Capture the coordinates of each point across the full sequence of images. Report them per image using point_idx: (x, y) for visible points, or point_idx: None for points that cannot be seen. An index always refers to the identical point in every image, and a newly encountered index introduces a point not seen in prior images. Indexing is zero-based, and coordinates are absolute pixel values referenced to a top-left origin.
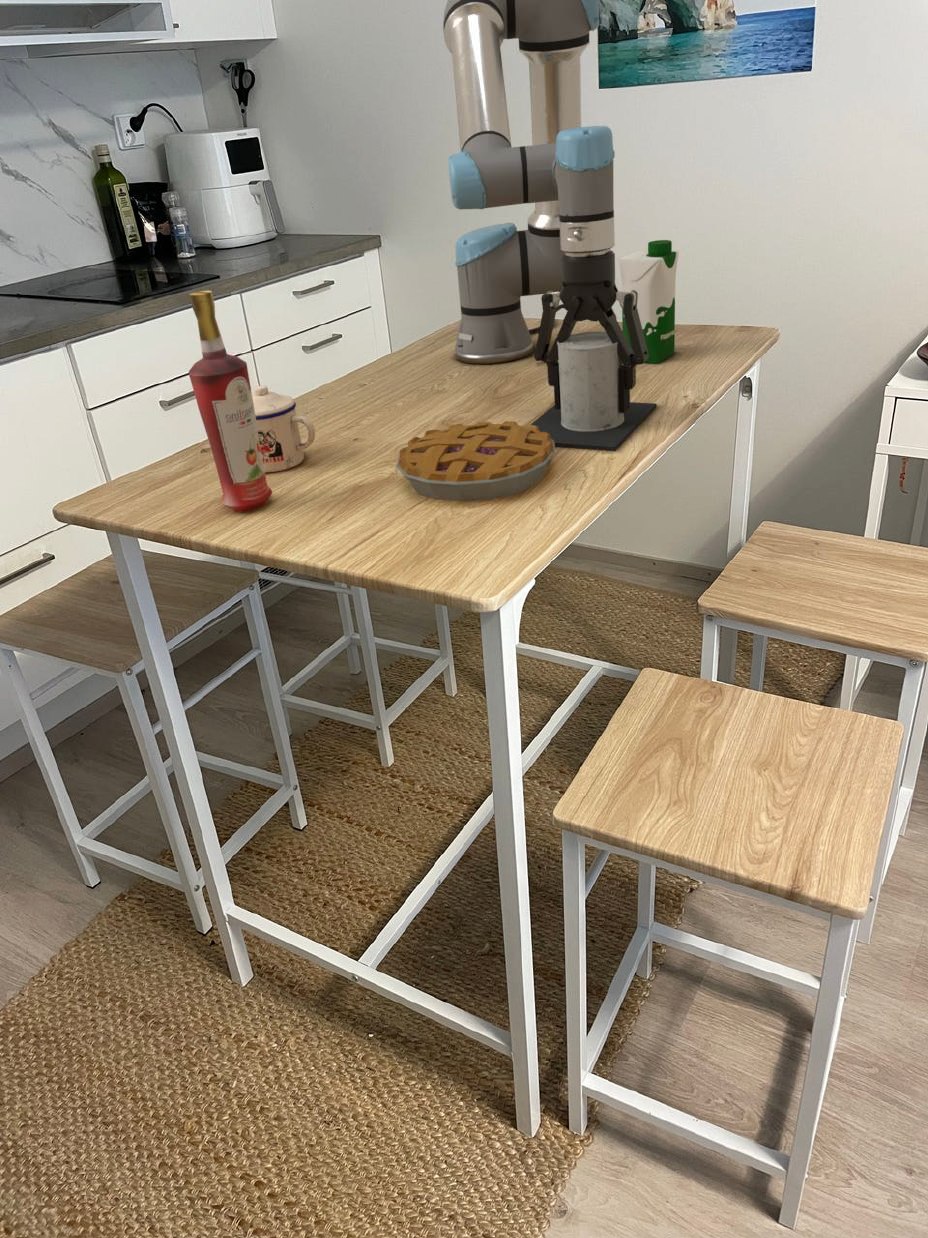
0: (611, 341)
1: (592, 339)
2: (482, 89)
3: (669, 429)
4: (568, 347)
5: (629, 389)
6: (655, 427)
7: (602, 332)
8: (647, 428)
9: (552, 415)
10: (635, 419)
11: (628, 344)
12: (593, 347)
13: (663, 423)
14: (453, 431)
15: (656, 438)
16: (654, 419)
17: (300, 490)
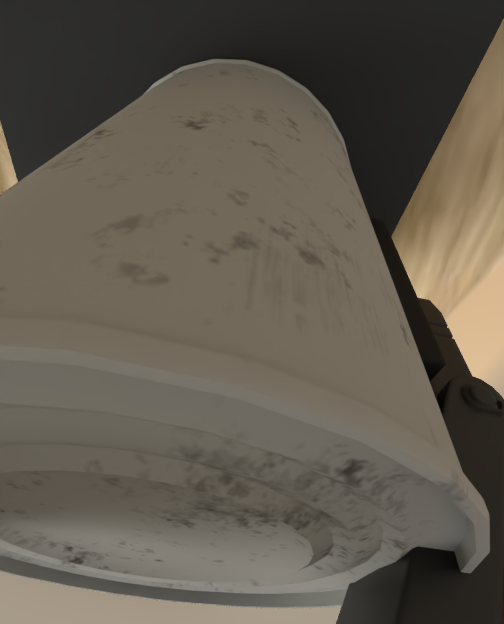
0: (345, 600)
1: (139, 507)
2: None
3: (498, 238)
4: (79, 587)
5: (401, 266)
6: (456, 218)
7: (156, 363)
8: (426, 227)
9: (46, 118)
10: (395, 181)
11: (494, 519)
12: (228, 590)
13: (500, 176)
14: None
15: (434, 303)
16: (480, 124)
17: None
